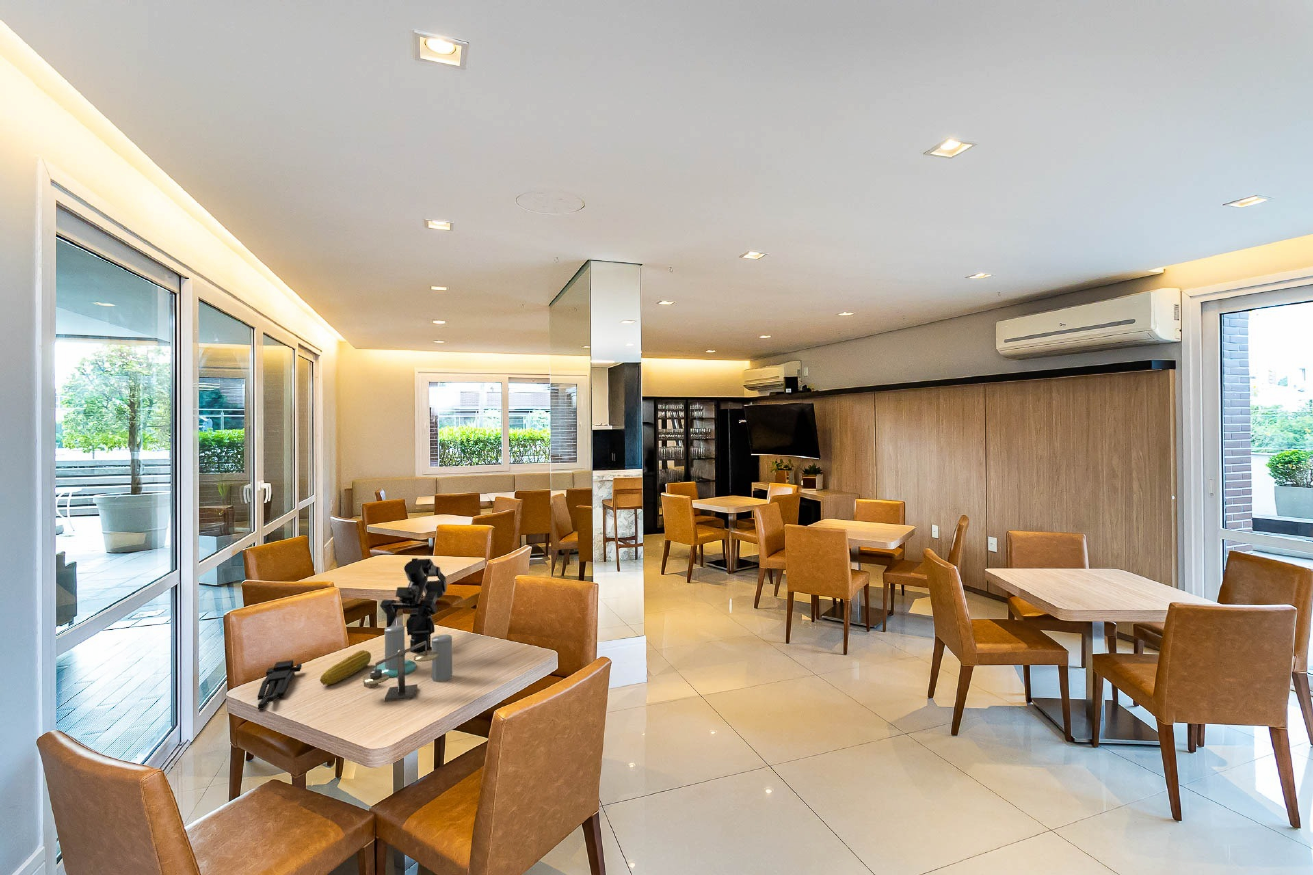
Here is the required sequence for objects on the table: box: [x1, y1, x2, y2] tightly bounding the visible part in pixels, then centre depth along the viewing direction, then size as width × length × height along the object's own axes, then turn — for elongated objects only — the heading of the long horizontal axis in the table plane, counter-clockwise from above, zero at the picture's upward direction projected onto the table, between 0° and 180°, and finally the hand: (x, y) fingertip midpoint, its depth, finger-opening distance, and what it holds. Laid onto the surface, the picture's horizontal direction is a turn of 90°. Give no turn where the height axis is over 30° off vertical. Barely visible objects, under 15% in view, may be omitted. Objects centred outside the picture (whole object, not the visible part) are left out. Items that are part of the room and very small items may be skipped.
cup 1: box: [384, 624, 406, 670], centre depth 200 cm, size 6×6×13 cm
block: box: [363, 674, 379, 689], centre depth 186 cm, size 3×3×3 cm
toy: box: [257, 659, 302, 710], centre depth 184 cm, size 10×5×30 cm
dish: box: [373, 659, 417, 679], centre depth 199 cm, size 13×13×1 cm
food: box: [319, 650, 372, 686], centre depth 195 cm, size 21×6×6 cm, turn 171°
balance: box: [362, 641, 438, 703], centre depth 179 cm, size 21×8×15 cm, turn 104°
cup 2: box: [431, 634, 453, 683], centre depth 192 cm, size 6×6×13 cm
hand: (400, 628), depth 204 cm, fingers open, 9 cm apart
